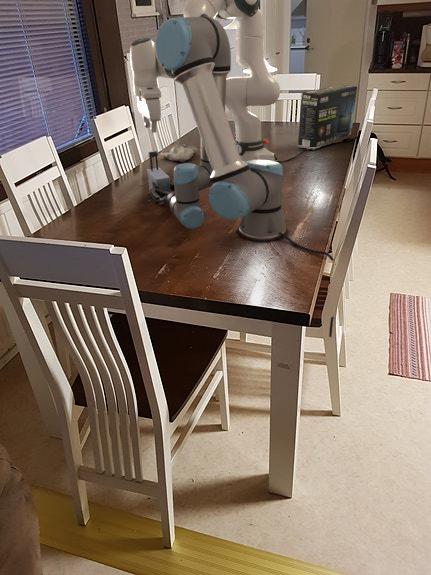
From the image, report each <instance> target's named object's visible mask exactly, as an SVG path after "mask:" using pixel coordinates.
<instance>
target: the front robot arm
mask: <svg viewBox="0 0 431 575" xmlns="http://www.w3.org/2000/svg"><path fill="white" fill-rule="evenodd" d="M154 40H155V41H154V43H155V52H156V56H157V59H158V61H159V63H160V64H161V65H162V66H163V67H164V68H165V69H168V70H171V71H172V74H173V77H174V79H173V80H174V81H175V82H176V83H178V84H180V85H181V86H182V88H183V91H184V94H185V96H186V99H187V102H188V105H189V108H190V110H191V113H192V116H193V119H194V122H195V125H196V127H197V130H198V133H199V136H200V151H199V152H200V156H199V157H200V158H199V159H200V160H199V161H200V162H199V165H196V164H194V163H191V162H183V163H178V164H176V165H175V166H174V167H173V182H172V180H170V188H171V193H169V192H167V191H166V192H164V191H162V190H160V189H159V187H158V186H157V185H156V184H155V182H152V185H153V187H152V189H150V191H149V195H150V198H151V199H152V200H153V201H154V202H155V205H159V203H161V202H163V203H164V204H163V205H166V207H167V208H168V209H169V211H170V212H171V213H172V214H173V216H174V217H176V219H177V220H178V221H179V223H180V224H181V225H182V226H184V227H185V228H186V229H188V230H195V229H198V228H199V227H201V226H202V225H203V223H204V220H205V213H204V212H203V210H202V209H201V205H200V192H201V191H203V190H205V189H207V188H209V190H208V191H209V193H208V195H207V196H208V201H209V205H210V207H211V209H212V211H214V213H215V214H216V215H218V216H219V217H221V218H222V219H225V220H227V221H236V220H238V219H240V218H241V220H240V222H239V226H238V232H239V235H240V236H241V237H242V238H244V239H247V240H250V241H254V242H271V241H277V240H279V239H281V238H284V239H286V241H288V242H289V243H291V244H292V245H293V246H296V247H297V248H299V249H302V250H304V251H307V252H310V253H313V254H320V255H325V256H327V257H328V258H329V259H330V260H331V261H335V258H334V257H333V256H332V255H331V254H330V253H329V252H327V251H323V250H315V249H311V248H309V247H306V246H303V245H301V244H299V243H297V242H295V241H294V240H292V239H291V238H290V237H288V236H287V235H286V234H287V223H286V221H285V216H284V214H283V210H282V200H283V183H284V169H283V165H282V164H281V163H278V162H276V160H275V161H270V160H249V161H246V162H244V161H242V160H241V158H240V155H239V152H238V149H237V146H236V143H235V139H234V137H233V134H234V133H233V132H232V129H231V126H230V122H229V120H228V116H227V113H226V83H227V79H228V74H230V72H231V70H232V69H231V68H232V50H231V44H230V39H229V37H228V34H227V31H226V29H225V28H224V27H223V25H222V24H221V23H220V22H219V21H218V20H217V19H215V18H212V17H208V16H200V17H184V16H176V17H173V18H168V19H165V21H164V22H162V23H161V25H160V26H159V27H158V29H157V32H156V37H155V39H154ZM161 198H162V199H161ZM334 318H335V316H334V315H333V316H332V317H330V324H329V330H328V331H329V332H328V337H329V338H332V336H333V325H334Z"/></svg>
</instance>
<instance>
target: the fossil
mask: <svg viewBox="0 0 431 575" xmlns="http://www.w3.org/2000/svg"><path fill="white" fill-rule="evenodd" d="M198 153H199V150H198V148H197V146H195V145H188V146H187V145H186V143H184V142H183V143H181V142H176V143H175V145H174V146H173V147H172V148H171V149H170V150H168V149H165V150H162V151H161V152H160V156H161V158H162V159H163V160H169V161H174V162H177V161H179V162H180V163H186V162H187V161H188V160H190V159H191V158H192V157H193V156H194V155H197V154H198Z"/></svg>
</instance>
